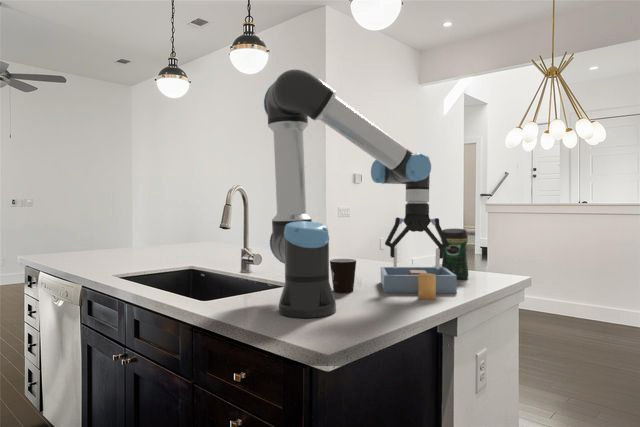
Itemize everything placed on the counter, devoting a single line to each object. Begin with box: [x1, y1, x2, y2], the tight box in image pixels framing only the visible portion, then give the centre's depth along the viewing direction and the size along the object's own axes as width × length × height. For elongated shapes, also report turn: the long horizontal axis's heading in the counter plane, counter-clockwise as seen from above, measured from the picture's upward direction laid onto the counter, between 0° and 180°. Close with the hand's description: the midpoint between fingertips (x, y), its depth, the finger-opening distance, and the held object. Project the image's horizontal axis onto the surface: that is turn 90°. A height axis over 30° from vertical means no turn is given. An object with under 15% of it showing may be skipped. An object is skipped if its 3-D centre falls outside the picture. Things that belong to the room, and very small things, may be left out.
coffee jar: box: [440, 228, 469, 280], centre depth 162 cm, size 10×8×19 cm
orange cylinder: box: [417, 273, 437, 301], centre depth 128 cm, size 5×5×7 cm
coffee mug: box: [329, 258, 357, 294], centre depth 141 cm, size 12×9×10 cm
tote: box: [380, 266, 458, 294], centre depth 144 cm, size 18×22×6 cm
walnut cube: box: [409, 270, 427, 275], centre depth 140 cm, size 5×5×5 cm
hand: (416, 268), depth 140 cm, fingers open, 13 cm apart
